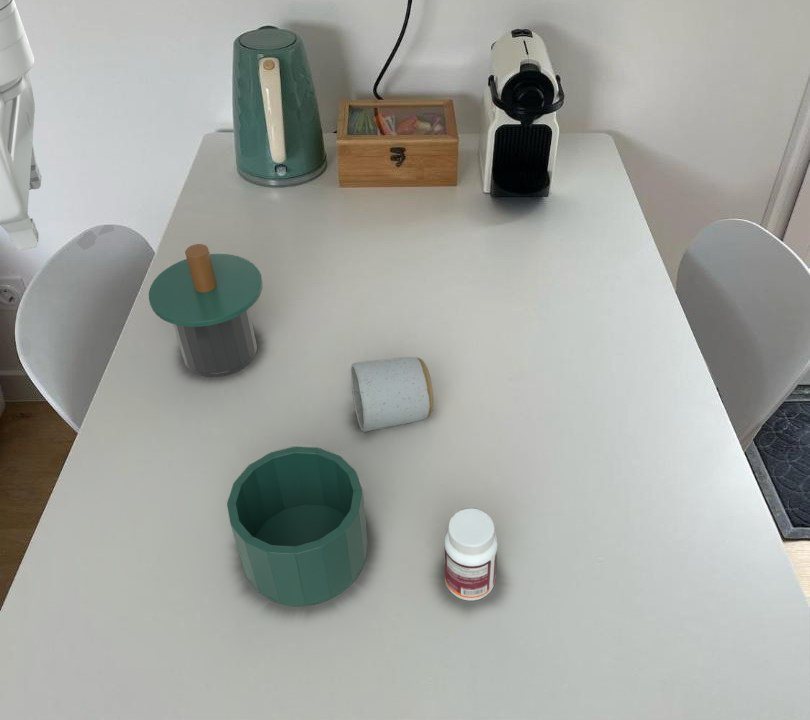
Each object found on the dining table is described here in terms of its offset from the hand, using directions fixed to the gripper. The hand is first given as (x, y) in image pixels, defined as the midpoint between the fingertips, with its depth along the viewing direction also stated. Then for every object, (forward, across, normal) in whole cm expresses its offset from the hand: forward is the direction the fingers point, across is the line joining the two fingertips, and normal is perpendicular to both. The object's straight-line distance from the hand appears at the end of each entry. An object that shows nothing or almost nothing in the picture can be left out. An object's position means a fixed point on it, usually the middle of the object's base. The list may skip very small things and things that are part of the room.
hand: (30, 213), depth 68 cm
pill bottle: (+31, -26, -30) cm, 51 cm away
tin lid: (+22, +14, -12) cm, 28 cm away
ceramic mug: (+31, -2, -29) cm, 43 cm away
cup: (+31, +14, -12) cm, 36 cm away
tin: (+31, -18, -16) cm, 39 cm away
